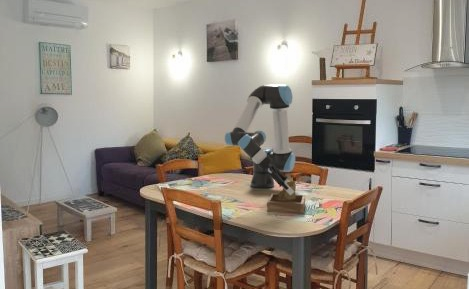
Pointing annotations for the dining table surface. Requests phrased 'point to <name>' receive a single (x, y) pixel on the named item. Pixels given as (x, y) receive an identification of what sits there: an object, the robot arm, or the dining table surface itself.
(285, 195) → the rock
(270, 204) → the crate
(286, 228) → the dining table surface
